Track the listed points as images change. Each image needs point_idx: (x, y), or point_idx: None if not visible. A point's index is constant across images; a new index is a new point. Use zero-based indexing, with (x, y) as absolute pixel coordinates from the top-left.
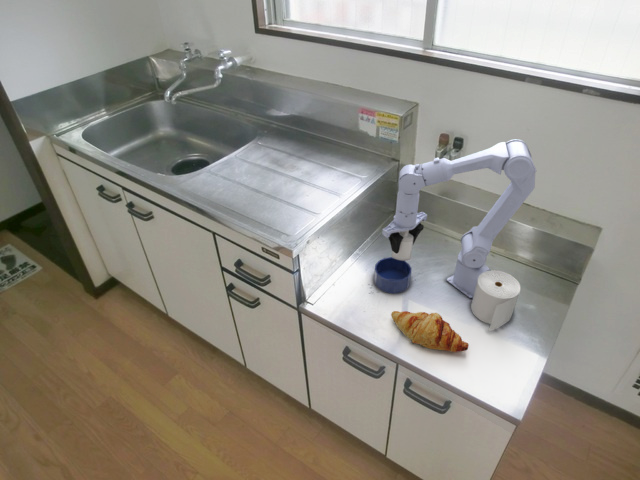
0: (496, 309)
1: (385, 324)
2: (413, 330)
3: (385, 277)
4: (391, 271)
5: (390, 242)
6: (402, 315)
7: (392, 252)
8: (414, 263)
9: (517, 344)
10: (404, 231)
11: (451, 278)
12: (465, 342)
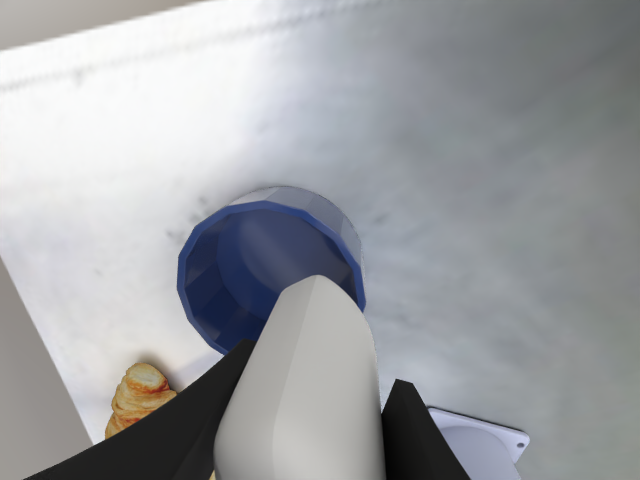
0: None
1: (119, 349)
2: None
3: (275, 237)
4: (325, 235)
5: (189, 390)
6: (123, 420)
7: (271, 314)
8: (452, 274)
9: None
10: None
11: (445, 422)
12: None
